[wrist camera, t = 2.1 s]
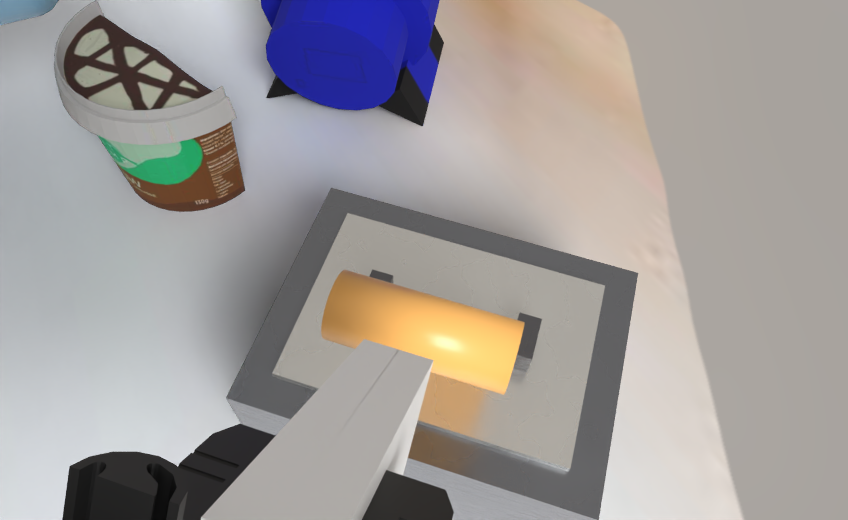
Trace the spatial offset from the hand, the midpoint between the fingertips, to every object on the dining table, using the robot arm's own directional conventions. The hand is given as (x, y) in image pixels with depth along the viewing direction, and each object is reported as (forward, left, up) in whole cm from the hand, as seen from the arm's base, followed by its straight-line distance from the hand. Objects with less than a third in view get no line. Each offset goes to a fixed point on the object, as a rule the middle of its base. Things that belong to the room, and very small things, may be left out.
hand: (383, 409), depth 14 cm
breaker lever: (-8, +4, -13) cm, 16 cm away
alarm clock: (-35, +2, -23) cm, 42 cm away
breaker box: (-8, +4, -23) cm, 25 cm away
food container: (-26, -12, -23) cm, 37 cm away
